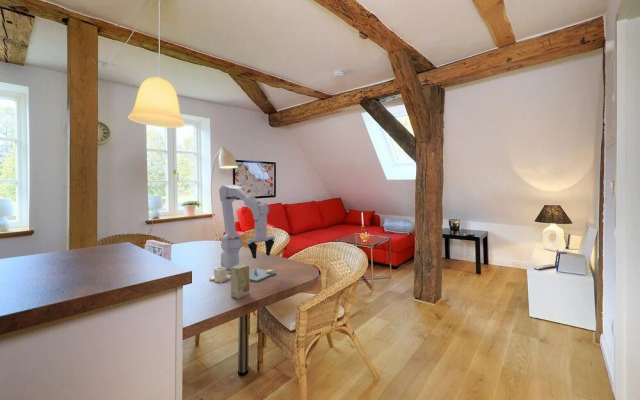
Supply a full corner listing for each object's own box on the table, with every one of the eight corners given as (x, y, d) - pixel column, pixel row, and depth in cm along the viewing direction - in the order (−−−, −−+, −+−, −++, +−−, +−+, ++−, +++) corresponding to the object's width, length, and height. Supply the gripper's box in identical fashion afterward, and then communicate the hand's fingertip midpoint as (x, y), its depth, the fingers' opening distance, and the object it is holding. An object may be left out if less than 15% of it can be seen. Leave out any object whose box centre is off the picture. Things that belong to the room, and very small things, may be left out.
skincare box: (238, 299, 120) (237, 268, 119) (230, 297, 122) (229, 267, 121) (250, 293, 125) (249, 264, 124) (242, 291, 128) (241, 263, 127)
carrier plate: (234, 277, 146) (234, 269, 146) (254, 269, 158) (254, 262, 158) (256, 282, 139) (256, 274, 139) (275, 273, 151) (275, 266, 151)
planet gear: (206, 280, 143) (206, 269, 142) (221, 274, 150) (221, 264, 150) (219, 283, 138) (219, 272, 138) (234, 277, 146) (233, 267, 145)
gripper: (251, 231, 138) (252, 261, 139) (278, 228, 148) (278, 255, 149) (244, 229, 143) (244, 258, 144) (270, 226, 153) (270, 252, 154)
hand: (261, 256), depth 147 cm, fingers open, 7 cm apart
